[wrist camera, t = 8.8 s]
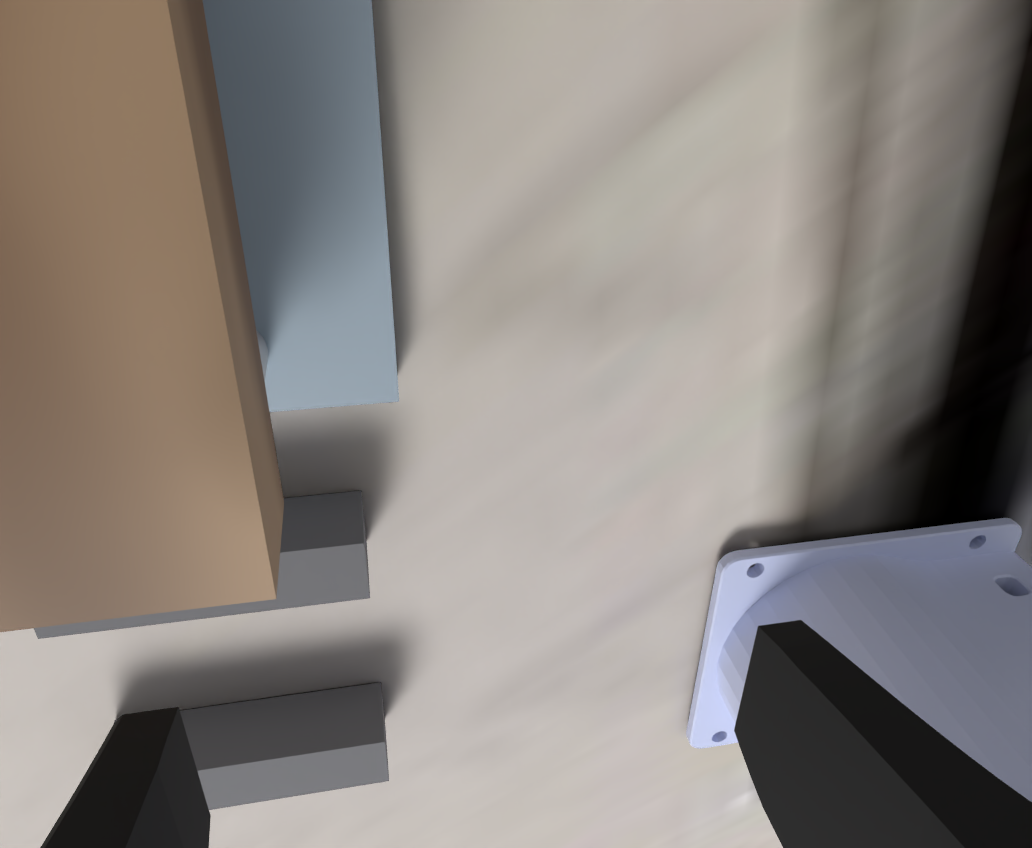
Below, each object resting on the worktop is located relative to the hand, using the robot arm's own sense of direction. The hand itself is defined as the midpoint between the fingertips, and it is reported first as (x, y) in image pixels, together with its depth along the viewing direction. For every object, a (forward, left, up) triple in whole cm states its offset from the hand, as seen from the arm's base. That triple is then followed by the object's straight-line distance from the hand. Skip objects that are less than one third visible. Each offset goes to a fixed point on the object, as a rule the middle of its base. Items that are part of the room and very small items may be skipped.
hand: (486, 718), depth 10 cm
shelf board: (+5, -5, -5) cm, 9 cm away
